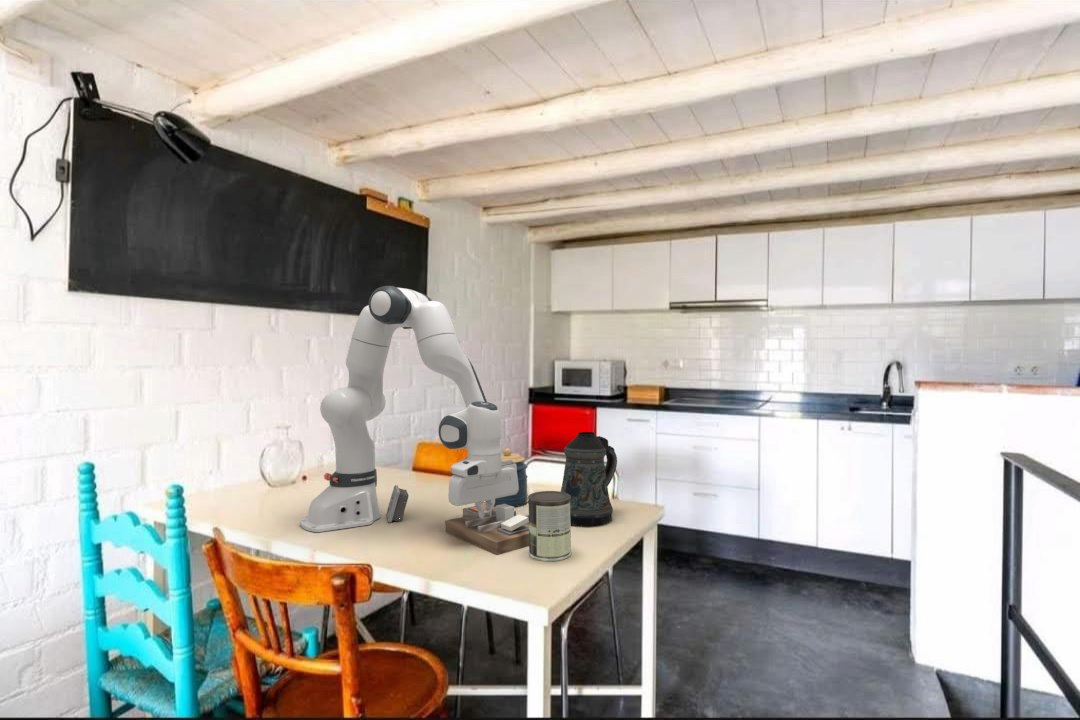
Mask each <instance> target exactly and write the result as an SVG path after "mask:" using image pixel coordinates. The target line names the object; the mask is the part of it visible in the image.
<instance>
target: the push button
mask: <svg viewBox="0 0 1080 720" xmlns="http://www.w3.org/2000/svg"><path fill="white" fill-rule="evenodd" d="M470 507H471V508H469V510H472V511H474V512H477V513H479V510H478V509H477V507H473V506H470ZM482 507H483V509H486V505H482ZM492 510H494V508H492Z"/></svg>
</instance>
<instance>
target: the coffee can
mask: <svg viewBox="0 0 1080 720" xmlns="http://www.w3.org/2000/svg"><path fill="white" fill-rule="evenodd" d="M527 497H528V499H527V501H528V515H529V546H528V547H529V549H528V551H529V552H528V555H529V557H530V558H532V559H533V560H537V561H541V562H557V561H558V562H559V561H564V560H565V559H568V558H569V557H570V556H571V555H572V552H571V551H572V549H571V547H572V546H571V542H572V540H571V536H572V535H571V532H572V531H571V527H572V526H571V517H570V500H571V496H570V495H569V494H568V493H565V492H561V490H560V491H558V490H541V491H536V492H532V493H530V494H528V496H527Z"/></svg>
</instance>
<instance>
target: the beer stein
mask: <svg viewBox="0 0 1080 720" xmlns="http://www.w3.org/2000/svg"><path fill="white" fill-rule="evenodd" d="M563 448H564V449H563V451H564V456H565V464H564V470H563V478H562V484H561V489H560V492H565V493H568V494H569V495H570V496H571V500H570V517H571V527H577V528H578V527H579V528H581V527H582V528H592V527H600V526H604V525H607V524H609V523H611V521H612V515H613V512H614V507H613V506H612V502H611V500H610V496H609V494H610V493H609V488H608V487H609V485H610V483H611V481H612V480H613V477H614V475H615V474H616V470H617V466H618V457H617V454H616V452H615V448H614V447H612V446H611V445H609V440H608V439H607V438H606V437H603V436H601V435H596V433H595V432H592V431H584V432H583V431H581V432H577V435H576V437H575V438H574V439H572V440H571V441H570V442H569V443H568V444H566V445H565V447H563ZM605 456H606V464H605Z"/></svg>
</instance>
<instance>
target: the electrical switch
mask: <svg viewBox="0 0 1080 720" xmlns="http://www.w3.org/2000/svg"><path fill="white" fill-rule="evenodd" d="M408 500H409V493H408V490H407V489H403V488H399V485H396V484H395V485H394V486H393V490H392V493H391V496H390V499H389V503H388V507H387V510H386V517H387V519H386V520H387V522H388V523H390V524H392V522H393V521H394V522H403V517H404V515H405V511H406V507H407V504H408V503H407V502H408ZM399 518H400V519H399Z"/></svg>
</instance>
